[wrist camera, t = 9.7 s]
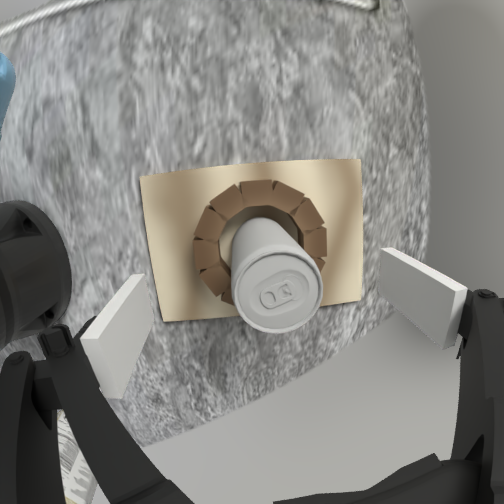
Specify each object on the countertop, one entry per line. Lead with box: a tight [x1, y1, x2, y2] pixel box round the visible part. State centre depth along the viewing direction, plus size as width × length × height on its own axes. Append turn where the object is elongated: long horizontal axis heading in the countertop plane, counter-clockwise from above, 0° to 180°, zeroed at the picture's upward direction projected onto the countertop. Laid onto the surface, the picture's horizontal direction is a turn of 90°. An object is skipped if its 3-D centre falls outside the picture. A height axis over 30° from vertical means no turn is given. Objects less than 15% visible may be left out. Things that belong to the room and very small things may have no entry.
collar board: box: [140, 159, 363, 322], centre depth 25 cm, size 20×14×3 cm
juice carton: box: [57, 410, 98, 504], centre depth 23 cm, size 8×9×19 cm
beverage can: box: [231, 217, 323, 334], centre depth 20 cm, size 5×5×12 cm
